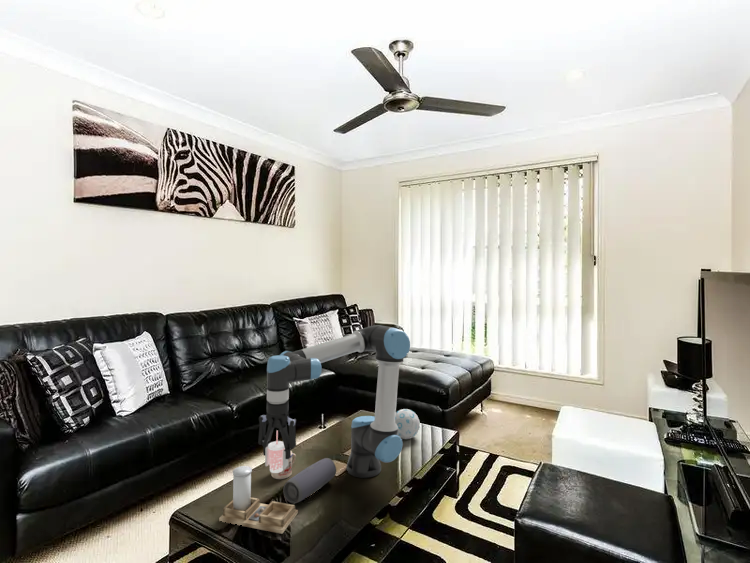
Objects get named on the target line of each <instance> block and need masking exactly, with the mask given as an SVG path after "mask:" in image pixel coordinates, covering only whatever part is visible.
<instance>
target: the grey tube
mask: <svg viewBox="0 0 750 563" xmlns="http://www.w3.org/2000/svg"><path fill="white" fill-rule="evenodd" d="M252 472H253V469H252V467H251V466H249V465H242V466H241V465H240V466H237V467H235V468H234V469H233V470H232V475H233V476H232V478H233V483H232V484H233V486H232V489H233V490H232V500H233V509H235V510H241V511H246V510H247V509H248V508H249V507H250V506H251V496H252Z"/></svg>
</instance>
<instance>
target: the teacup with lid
mask: <svg viewBox="0 0 750 563" xmlns="http://www.w3.org/2000/svg"><path fill="white" fill-rule="evenodd" d="M296 459H297V455H296V454H295V453H293V451H292V450H291V456H290V458H289V459H288V466H287V467H286V468H285V469H283V471H282V472H279V473H272V472H270V475H271V477H272V479H276V480H284V479H287V478H289V477H291V476H292V474H293V472H292V471H293V464H294V463H295V462H296Z"/></svg>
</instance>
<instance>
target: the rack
mask: <svg viewBox="0 0 750 563" xmlns="http://www.w3.org/2000/svg"><path fill="white" fill-rule="evenodd" d="M298 513H299V510H298V509H296V504H292V503H291V504H290V503H285V502H279V501H273V500H271V501H270V503H269V504H266V503H261V499H260V498H256V497H251V506H250V507H249V508H248V509H247V510H246V511H241V510H235V509H233V499H232V500H231V501H230V502H229V503H228V504H226V505H225V506H224V507H223V508H222V514H221V516H220V517H219V518H218V519H219V522H220V521H222V522H221V523H225V522H226V523H225V524H230V523H231V524H232V525H235V524H237V525H236V526H240V525H242V526H241V527H247V528H250V529H251V528H252V529H257V530H261V531H266V532H267V531H268V532H271V533H276V534H281V535H282V534H283V533H284V532H285V531H286V530H287V528H288V527H289V526H290V524H291V523H292V522H293V520H294V519H295V518H296V516H297V515H298Z"/></svg>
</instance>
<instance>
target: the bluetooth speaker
mask: <svg viewBox="0 0 750 563" xmlns="http://www.w3.org/2000/svg"><path fill="white" fill-rule="evenodd" d="M336 474H337V467H336V464H335V463H334V461H333V459H332V458H328V457H324V458H322V459H320V460H318V461H316V462H315V463H312V464H311V465H308V466H307V467H306V468H304V469H303V470H301V471H299V472H298V473H297V474H296V475H294V476H292V477H290V478H289V479H288V480H287V481H286V482H285V483H284V486H283V489H282V491H283V496H284V498H285V500H286V501H287V502H289V504H290V503H291V504H292V505H296V504H299V503H300V502H302V501H303V500H306V499H305V498H307V497H309V496H310V495H311V494H313V493H314V492H316V491H317V490H319V489H320V490H321V489H322V488H323V487H324V486H325V485H326V484H328V482H330V481H331V480H333V478H334V477H335V476H336ZM320 490H319V491H320ZM317 492H318V491H317ZM317 492H316V493H317ZM313 495H314V494H313ZM310 497H311V496H310ZM310 497H309V498H310ZM307 499H308V498H307Z"/></svg>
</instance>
